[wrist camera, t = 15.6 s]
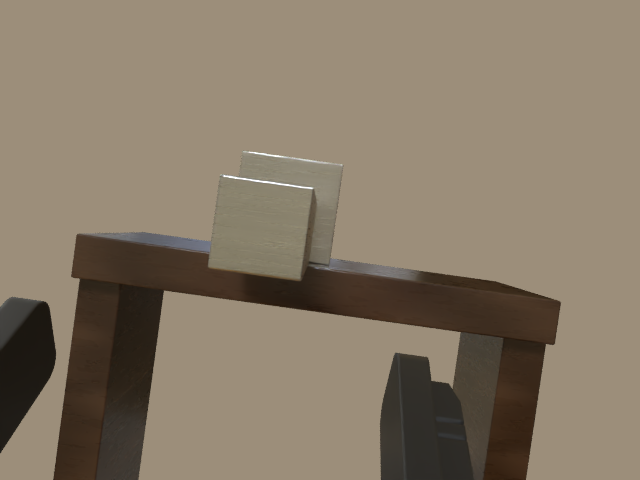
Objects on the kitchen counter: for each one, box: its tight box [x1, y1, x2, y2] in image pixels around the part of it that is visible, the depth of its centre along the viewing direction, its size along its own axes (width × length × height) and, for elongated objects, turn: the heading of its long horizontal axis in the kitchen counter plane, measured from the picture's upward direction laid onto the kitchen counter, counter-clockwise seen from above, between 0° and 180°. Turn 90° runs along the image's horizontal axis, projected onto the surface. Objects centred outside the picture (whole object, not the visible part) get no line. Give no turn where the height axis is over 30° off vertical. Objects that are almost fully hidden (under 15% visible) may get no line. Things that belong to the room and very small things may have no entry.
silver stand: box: [208, 151, 343, 281], centre depth 27 cm, size 5×16×5 cm, turn 0°
